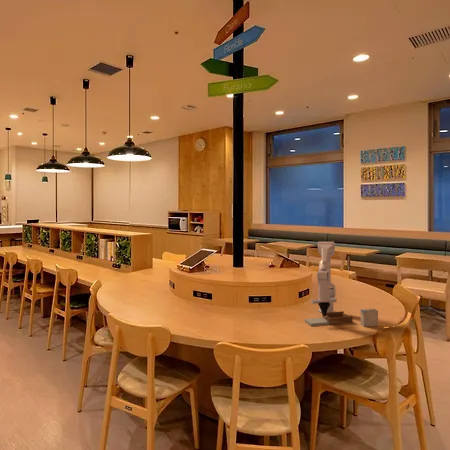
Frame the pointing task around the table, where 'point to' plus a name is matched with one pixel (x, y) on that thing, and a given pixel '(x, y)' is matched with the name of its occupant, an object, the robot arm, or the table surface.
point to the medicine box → (369, 317)
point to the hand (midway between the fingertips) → (324, 315)
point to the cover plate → (317, 321)
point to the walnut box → (338, 318)
